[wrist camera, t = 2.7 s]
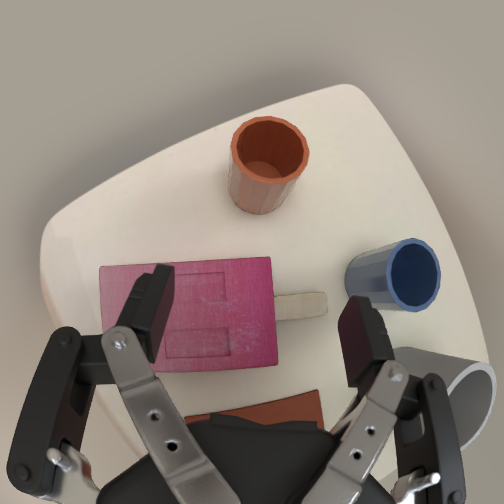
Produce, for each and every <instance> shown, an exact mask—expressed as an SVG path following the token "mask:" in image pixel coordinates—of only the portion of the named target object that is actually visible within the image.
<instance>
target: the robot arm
mask: <svg viewBox="0 0 504 504" xmlns="http://www.w3.org/2000/svg"><path fill="white" fill-rule="evenodd" d="M174 294H175V267H174V266H172V265H167V264H161V263H157V265H156V267H155V269H154V271H153V274H150V273H145V272H144V273H143V274H142V275H141V276H140V277H139V278H137V279H136V281H135V283H134V285H133V287H132V290H131V291H130V293H129V296H128V298H127V300H126V302H125V304H124V306H123V309H122V311H121V313H120V315H119V317H118V320H117V322H116V324H115V326H113V327H111V328H109V329H108V330H106V331H105V332H104V334H101V335H84V336H81V335H80V333H79V332H78V331H77V330H76V329H75V328H73V327H61V328H59V329H57V330H56V331H54V332H53V334H52V335H51V337H50V339H49V341H48V343H47V346H46V348H45V350H44V353H43V355H42V357H41V360H40V362H39V365H38V367H37V369H36V372H35V374H34V377H33V379H32V382H31V385H30V388H29V390H28V393H27V396H26V399H25V402H24V404H23V408H22V410H21V414H20V417H19V420H18V423H17V427H16V430H15V434H14V437H13V441H12V445H11V449H10V453H9V458H8V461H7V467H6V469H7V475H8V478H9V480H10V482H11V483H12V485H13V486H14V487H15V488H16V489H18V490H19V491H21V492H24V493H27V494H30V495H32V496H33V497H37V498H40V499H44V500H48V501H54V502H56V503H58V504H464V503H465V500H466V487H465V478H464V470H463V463H462V457H461V451H460V445H459V440H458V435H457V430H456V425H455V421H454V416H453V412H452V408H451V404H450V400H449V396H448V392H447V389H446V385H445V382H444V380H443V379H442V378H441V377H440V376H439V375H438V374H435V373H428V374H427V375H426V376H425V377H423V378H420V377H417V376H413V375H410V374H408V371H407V369H406V367H405V366H404V365H403V364H402V363H400V362H399V361H396V359H395V355H394V352H393V349H392V346H391V342H390V339H389V336H388V335H387V330H386V328H385V324H384V321H383V318H382V316H381V315H380V313H379V312H378V311H377V309H376V308H372V305H371V302H370V299H369V297H367V296H360V295H352V296H351V297H350V299H349V301H348V302H347V304H346V306H345V308H344V310H343V311H342V313H341V315H340V317H339V320H338V332H339V337H340V342H341V347H342V353H343V358H344V364H345V369H346V375H347V381H348V387H357V389H358V392H357V393H356V394H355V396H354V397H353V399H352V401H351V402H350V404H349V406H348V407H347V409H346V410H345V412H344V413H343V415H342V416H341V418H340V419H339V421H338V422H337V424H336V425H335V426H334V427H333V428H332V429H331V430H330V432H328V431H326V430H323V429H321V428H318V427H317V421H295V420H292V421H287V422H282V423H276V424H271V425H263V424H260V423H256V422H253V421H250V420H247V419H244V418H242V417H239V416H232V415H224V414H217V413H211V414H210V419H202V420H197V421H193V422H190V423H188V424H185V422H184V421H183V419H182V417H181V416H180V414H179V412H178V411H177V409H176V407H175V405H174V404H173V402H172V400H171V398H170V397H169V395H168V393H167V391H166V389H165V387H164V386H163V384H162V382H161V380H160V379H159V378H158V377H156V375H155V374H154V372H153V370H152V368H151V366H150V364H149V363H152V364H155V361H156V358H157V354H158V351H159V347H160V344H161V341H162V337H163V334H164V331H165V327H166V324H167V321H168V317H169V314H170V311H171V308H172V305H173V301H174ZM97 384H117V387H118V389H119V392H120V395H121V397H122V399H123V402H124V404H125V406H126V408H127V410H128V413H129V415H130V417H131V419H132V421H133V423H134V425H135V427H136V429H137V431H138V433H139V435H140V437H141V439H142V441H143V443H144V445H145V447H146V449H147V450H148V452H149V453H148V454H147V455H145V456H144V457H143V458H141V459H140V460H139V461H138V462H136V463H135V464H133V465H132V466H131V467H129V468H128V469H127V470H125V471H124V472H123V473H121V474H120V475H119V476H117V477H116V478H114V479H113V480H111V481H110V482H109V483H107V484H106V485H105V486H104V487H103V488H102V489H101V490H100V489H99V488H98V487H97V486H96V485H95V484H94V482H93V480H92V476H91V465H90V463H89V461H88V459H87V458H86V457H85V456H84V455H83V454H81V453H80V448H81V443H82V438H83V434H84V430H85V426H86V421H87V418H88V414H89V410H90V406H91V402H92V399H93V395H94V391H95V388H96V385H97ZM420 414H422V417H423V422H424V428H425V431H424V435H423V431H422V425H421V420H420ZM392 429H394V437H395V446H396V456H397V466H398V480H397V482H396V483H395V485H394V488H393V489H392V490H391V495H390V494H389V493H388V492H387V491H386V490H385V489H384V488H383V487H382V486H381V485H380V484H379V483H378V481H377V480H376V479H375V478H374V477H373V476H372V475H371V474H370V471H371V469H372V468H373V466H374V464H375V462H376V461H377V459H378V457H379V455H380V453H381V451H382V449H383V447H384V446H385V444H386V442H387V440H388V438H389V436H390V434H391V431H392Z"/></svg>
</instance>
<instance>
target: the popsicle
mask: <svg viewBox="0 0 504 504" xmlns="http://www.w3.org/2000/svg"><path fill="white" fill-rule="evenodd" d="M161 264H167V265H172V266H174V267H175V294H174V301H173V305H172V308H171V311H170V314H169V317H168V321H167V324H166V327H165V331H164V334H163V337H162V341H161V344H160V347H159V351H158V354H157V358H156V361H155V364H152V363H149V364H150V366H151V368H152V370H153V372H200V371H219V370H234V369H246V368H256V367H266V366H275V365H278V350H277V336H276V321H278V320H288V319H297V318H306V317H315V316H323V315H326V314H327V311H328V310H327V296H326V293H324V292H315V293H305V294H295V295H283V296H274V295H273V282H272V269H271V259H270V257H255V258H238V259H222V260H205V261H188V262H171V263H161ZM156 265H157V263H153V264H135V265H117V266H101V267H100V268H99V281H100V302H101V317H102V329H103V334H104V332H105V331H106V330H108V329H109V328H111V327H113V326H115V324H116V322H117V320H118V317H119V315H120V313H121V311H122V309H123V306H124V304H125V302H126V300H127V298H128V296H129V293H130V291H131V290H132V287H133V285H134V283H135V281H136V279H137V278H139V277H140V276H141V275H142V274H143V273H144V272H145V273H150V274H153V271H154V269H155V267H156Z"/></svg>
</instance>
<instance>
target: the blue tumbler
mask: <svg viewBox="0 0 504 504" xmlns="http://www.w3.org/2000/svg"><path fill="white" fill-rule="evenodd" d="M440 279H441V271H440V266H439V261H438V259H437V257H436V255H435V253H434V251H433V249H432V248H431V247H430V246H428V245H427V244H426V243H425V242H424V241H422V240H418V239H415V238H410V239H406V240H402V241H399V242H396V243H393V244H390V245H387V246H384V247H381V248H377V249H374V250H371V251H368V252H365V253H362V254H360V255H358V256H357V257H355V258H354V259H353V260H352V261H351V263H350V264H349V266H348V268H347V271H346V274H345V287H346V291H347V294H348V296H349V297H351V296H352V295H360V296H367V297H369V299H370V302H371V305H372V308H376V309H377V310H384V311H401V312H418V311H421V310H424V309H426V308H427V307H428V306H429V305H430V304H431V303H432V302H433V301H434V299H435V298H436V295H437V293H438V291H439V287H440Z"/></svg>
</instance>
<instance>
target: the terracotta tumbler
mask: <svg viewBox="0 0 504 504" xmlns="http://www.w3.org/2000/svg"><path fill="white" fill-rule="evenodd" d="M308 158H309V148H308V145H307V142H306V139H305V137H304V136H303V134H302V133H301V132H300V131H299V129H298V128H297V127H296V126H294V125H292V124H291V123H289V122H288V121H286V120H284V119H280V118H276V117H272V116H264V117H255V118H253V119H251V120H249V121H246V122H244V123H243V124H242V125H241V126H240V127H239V128H238V129H237V130H236V131H235V133H234V135H233V138H232V142H231V145H230V159H229V174H228V189H229V194H230V196H231V198H232V200H233V201H234V203H235V204H236V205H237V206H238V207H239V208H241V209H242V210H244V211H246V212H249V213H252V214H265V213H269V212H272V211H273V210H275V209H277V208H278V207H279V206H280V205H281V204H282V202H283V201H284V199H285V198H286V196H287V195H288V193H289V192H290V190H291V189H292V187H293V186H294V184H295V183H296V181H297V180H298V178H299V177H300V175H301V173H302V172H303V170H304V169H305V167H306V166H307V164H308Z"/></svg>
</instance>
